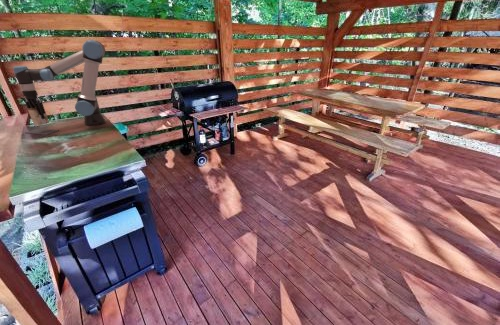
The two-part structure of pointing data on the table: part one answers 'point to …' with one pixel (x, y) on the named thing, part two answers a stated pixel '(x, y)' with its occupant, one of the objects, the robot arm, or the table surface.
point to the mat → (41, 131)
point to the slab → (36, 117)
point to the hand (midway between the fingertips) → (41, 122)
